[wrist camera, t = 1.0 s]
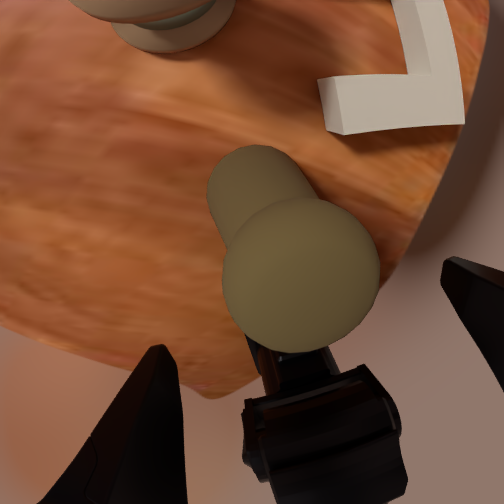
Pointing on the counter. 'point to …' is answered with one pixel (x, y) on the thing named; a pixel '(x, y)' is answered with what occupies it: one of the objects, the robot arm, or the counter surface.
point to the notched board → (402, 80)
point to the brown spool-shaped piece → (161, 21)
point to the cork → (289, 253)
